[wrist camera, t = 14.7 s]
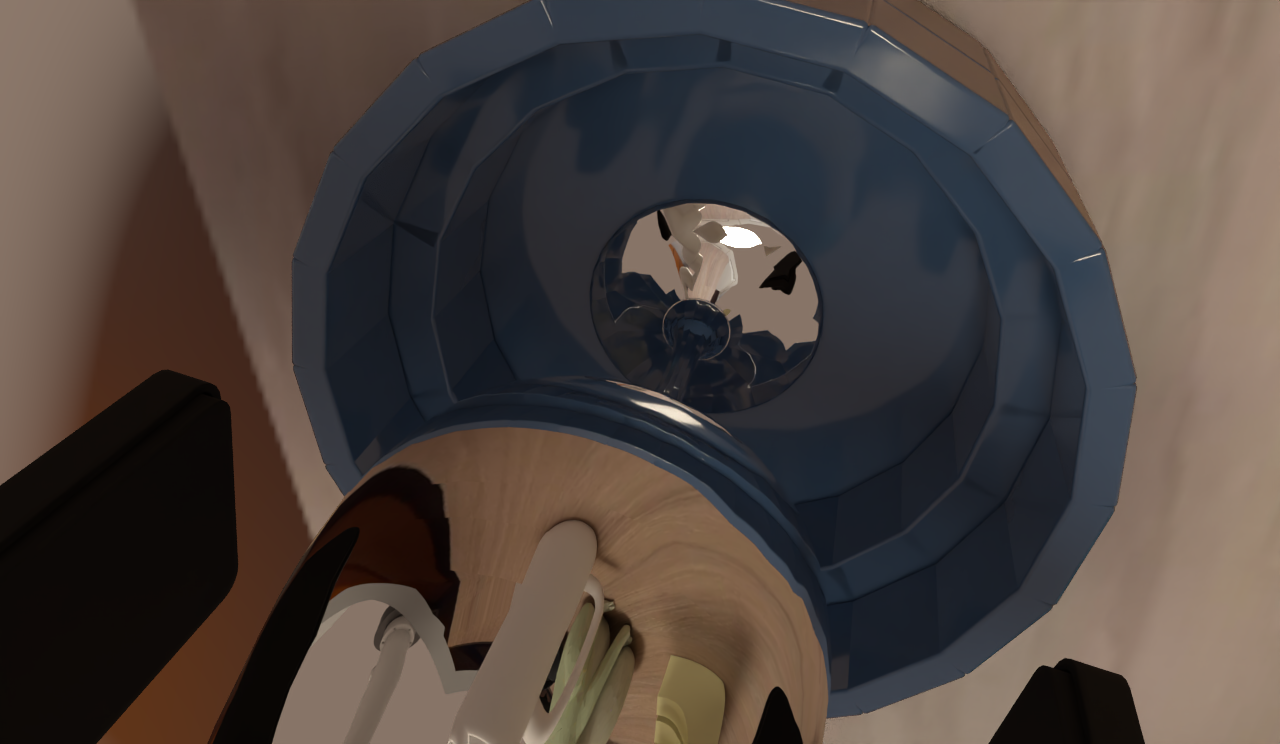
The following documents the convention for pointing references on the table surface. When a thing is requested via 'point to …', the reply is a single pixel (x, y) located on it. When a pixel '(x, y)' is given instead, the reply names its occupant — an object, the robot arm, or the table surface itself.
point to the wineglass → (578, 535)
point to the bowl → (830, 237)
